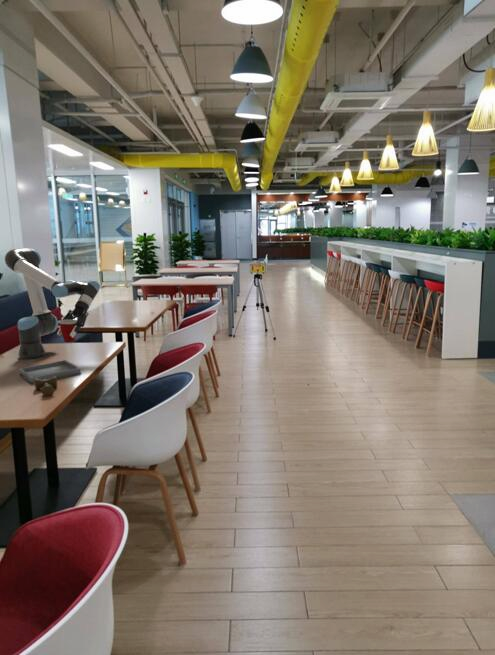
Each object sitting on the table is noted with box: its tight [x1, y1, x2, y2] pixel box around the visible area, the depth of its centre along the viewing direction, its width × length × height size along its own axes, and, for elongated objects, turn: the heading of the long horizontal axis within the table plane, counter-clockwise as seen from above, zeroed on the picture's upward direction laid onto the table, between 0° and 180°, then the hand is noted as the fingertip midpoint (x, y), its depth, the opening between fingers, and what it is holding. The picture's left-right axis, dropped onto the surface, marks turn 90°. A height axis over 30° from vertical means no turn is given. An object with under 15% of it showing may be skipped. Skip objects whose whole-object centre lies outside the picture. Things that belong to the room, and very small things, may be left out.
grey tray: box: [19, 359, 82, 385], centre depth 260 cm, size 24×24×3 cm
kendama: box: [34, 376, 58, 397], centre depth 232 cm, size 6×10×20 cm
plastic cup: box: [58, 319, 77, 343], centre depth 284 cm, size 11×11×12 cm
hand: (65, 335), depth 282 cm, fingers closed on plastic cup, 9 cm apart
